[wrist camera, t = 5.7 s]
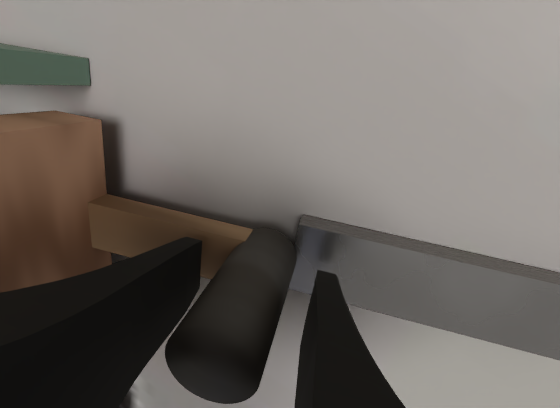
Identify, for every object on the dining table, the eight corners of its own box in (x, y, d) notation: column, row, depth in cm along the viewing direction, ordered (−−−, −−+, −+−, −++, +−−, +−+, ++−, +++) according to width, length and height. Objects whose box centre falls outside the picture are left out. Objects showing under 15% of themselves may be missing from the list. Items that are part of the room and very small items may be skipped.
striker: (280, 339, 13) (241, 479, 8) (76, 280, 15) (-54, 372, 10) (316, 163, 10) (288, 229, 5) (54, 110, 12) (-150, 125, 7)
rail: (559, 343, 12) (576, 364, 11) (290, 274, 14) (286, 287, 13) (601, 282, 11) (624, 300, 10) (302, 214, 12) (299, 224, 11)
